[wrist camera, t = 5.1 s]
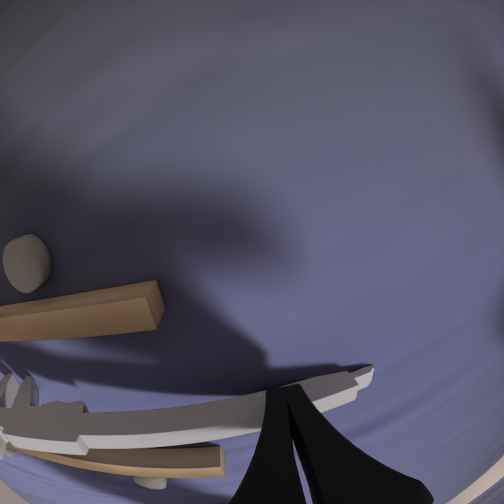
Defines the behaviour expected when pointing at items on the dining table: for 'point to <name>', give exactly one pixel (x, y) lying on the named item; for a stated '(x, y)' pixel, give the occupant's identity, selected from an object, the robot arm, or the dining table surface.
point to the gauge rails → (87, 325)
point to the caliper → (148, 417)
